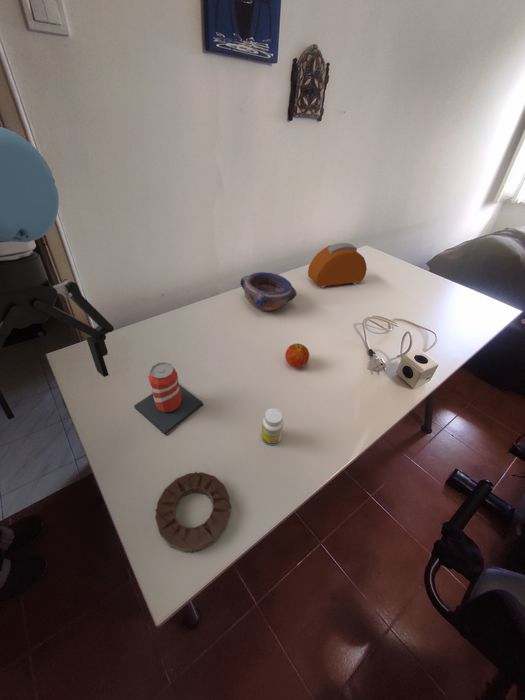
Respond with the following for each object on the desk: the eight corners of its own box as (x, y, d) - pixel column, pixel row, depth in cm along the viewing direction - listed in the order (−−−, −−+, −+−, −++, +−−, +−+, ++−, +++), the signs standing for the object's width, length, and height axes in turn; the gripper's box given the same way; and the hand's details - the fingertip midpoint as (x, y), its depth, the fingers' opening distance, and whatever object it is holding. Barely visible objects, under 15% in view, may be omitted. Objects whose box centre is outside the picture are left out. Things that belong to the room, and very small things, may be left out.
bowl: (298, 313, 115) (302, 289, 108) (253, 322, 109) (254, 297, 102) (278, 289, 127) (280, 267, 121) (236, 296, 121) (236, 273, 115)
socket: (191, 570, 53) (189, 567, 52) (142, 515, 59) (140, 511, 58) (244, 507, 61) (244, 502, 60) (197, 464, 67) (196, 460, 66)
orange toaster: (352, 274, 141) (362, 238, 131) (363, 284, 135) (374, 246, 124) (305, 280, 135) (312, 242, 124) (314, 290, 129) (322, 251, 118)
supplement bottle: (268, 425, 76) (271, 403, 71) (284, 435, 74) (288, 413, 69) (257, 438, 73) (258, 416, 68) (273, 449, 71) (276, 427, 66)
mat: (165, 435, 72) (164, 432, 72) (134, 408, 78) (133, 405, 77) (203, 405, 80) (203, 402, 79) (173, 382, 85) (172, 379, 85)
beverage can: (165, 391, 81) (158, 357, 73) (186, 399, 80) (181, 366, 72) (150, 408, 77) (141, 373, 69) (172, 417, 75) (165, 383, 67)
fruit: (309, 359, 95) (313, 339, 90) (304, 374, 90) (308, 354, 85) (287, 354, 97) (290, 334, 92) (281, 368, 92) (284, 348, 87)
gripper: (91, 236, 48) (123, 352, 59) (-153, 271, 32) (-48, 423, 43) (114, 242, 44) (144, 367, 55) (-153, 287, 28) (-37, 451, 39)
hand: (60, 392), depth 49 cm, fingers open, 13 cm apart
